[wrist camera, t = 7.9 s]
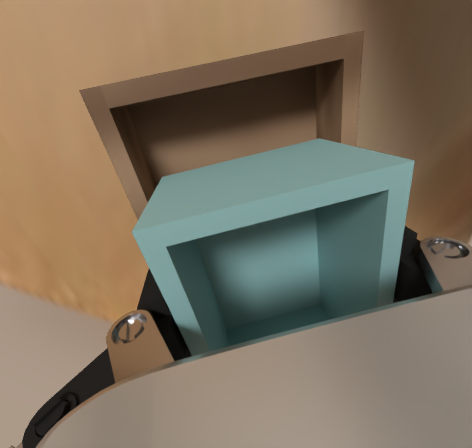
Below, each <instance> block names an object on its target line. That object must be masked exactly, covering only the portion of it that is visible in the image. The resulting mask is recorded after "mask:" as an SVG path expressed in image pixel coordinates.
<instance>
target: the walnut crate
mask: <svg viewBox="0 0 472 448" xmlns="http://www.w3.org/2000/svg"><path fill="white" fill-rule="evenodd" d="M363 35H364V31H360V32H355V33H351V34H346V35H341V36H336V37H331V38H327V39H322V40H317V41H312V42H308V43H303V44H298V45H293V46H288V47H284V48H279V49H274V50H269V51H265V52H260V53H255V54H250V55H245V56H241V57H236V58H231V59H226V60H222V61H217V62H212V63H207V64H202V65H198V66H193V67H188V68H183V69H179V70H174V71H169V72H164V73H159V74H155V75H150V76H145V77H140V78H136V79H131V80H126V81H121V82H116V83H112V84H107V85H102V86H97V87H93V88H88V89H83V90H79V91H80V93H81V96H82V98H83V100H84V102H85V104H86V107H87V109H88V111H89V113H90V115H91V118H92V120H93V122H94V124H95V126H96V129H97V131H98V133H99V135H100V137H101V140H102V142H103V144H104V146H105V148H106V151H107V153H108V155H109V157H110V159H111V162H112V164H113V166H114V168H115V170H116V173H117V175H118V177H119V179H120V181H121V184H122V186H123V188H124V190H125V193H126V195H127V197H128V199H129V201H130V204H131V206H132V208H133V210H134V212H135V215H136V217H137V219H138V220H139V218H140V216H141V215H142V213H143V211H144V209H145V207H146V205H147V204H148V202H149V200H150V198H151V196H152V195H153V193H154V191H155V189H156V187H157V185H158V184H159V182H160V180H161V178H162V177H164V176H168V175H172V174H176V173H180V172H185V171H189V170H193V169H197V168H201V167H205V166H209V165H213V164H217V163H221V162H225V161H229V160H233V159H237V158H241V157H246V156H250V155H254V154H258V153H262V152H266V151H270V150H274V149H278V148H282V147H286V146H290V145H294V144H298V143H302V142H306V141H311V140H315V139H319V138H320V139H324V140H329V141H333V142H337V143H342V144H346V145H350V146H354V147H356V136H357V122H358V107H359V93H360V78H361V64H362V49H363Z"/></svg>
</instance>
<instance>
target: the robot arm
mask: <svg viewBox="0 0 472 448" xmlns="http://www.w3.org/2000/svg"><path fill="white" fill-rule="evenodd" d="M416 238H417V233H416V232H414V231H412V230H411V229H409V228H407V227H406V226H405V228H404V234H403V241H402V247H401V254H400V260H399V267H398V273H397V280H396V286H395V293H394V299H393V304H389V305H385V306H381V307H377V308H373V309H369V310H365V311H361V312H357V313H353V314H350V315H346V316H342V317H338V318H334V319H330V320H326V321H323V322H319V323H315V324H311V325H307V326H303V327H300V328H296V329H292V330H288V331H284V332H280V333H277V334H273V335H269V336H265V337H262V338H258V339H254V340H250V341H247V342H243V343H239V344H235V345H231V346H228V347H224V348H220V349H216V350H213V351H209V352H206V353H202V354H199V355H195V356H192V355H191V353H190V351H189V348H188V346H187V344H186V342H185V340H184V338H183V336H182V334H181V332H180V330H179V328H178V326H177V324H176V322H175V320H174V318H173V316H172V314H171V312H170V309H169V307H168V305H167V303H166V301H165V299H164V297H163V295H162V293H161V291H160V289H159V287H158V285H157V283H156V281H155V279H154V277H153V275H152V273H151V270H150V268H149V270H148V273H147V277H146V280H145V283H144V287H143V290H142V294H141V297H140V300H139V304H138V307H137V310H135V311H131V312H129V313H127V314H125V315H123V316H122V317H121V318H119V319H118V320H117V321H116V322H115V323H114V324H113V325H112V327H111V328H110V330H109V331H108V334H107V337H106V343H107V349H106V350H105V351H104V352H103V353H101V354H100V355H99V356H98V357H97V358H96V359H95V360H94V361H92V362H91V363H90V364H89V365H88V366H87V367H86V368H84V369H83V371H81V372H80V373H79V374H78V375H77V376H75V377H74V378H73V379H72V380H71V381H70V382H69V383H67V384H66V386H64V387H63V388H62V389H61V390H60V391H59V392H57V393H56V394H55V395H54V396H53V397H52V398H51V399H49V401H47V402H46V403H45V404H44V405H43V406H42V407H41V408H40V409H39V410H38V412H37V413H36V414H35V416H34V417H33V418H32V420H31V421H30V423H29V425H28V427H27V429H26V430H25V433H24V437H23V440H22V442H21V443H20V445H18V446H17V447H16V448H472V247H471V246H470V245H468V244H466V243H465V242H463V241H460V240H457V239H453V238H449V237H441V236H435V237H428V238H425V239H423V240H422V241H419V240H417V239H416ZM10 448H15V447H14V446H11V447H10Z"/></svg>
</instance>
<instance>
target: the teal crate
mask: <svg viewBox="0 0 472 448" xmlns="http://www.w3.org/2000/svg"><path fill="white" fill-rule="evenodd" d="M414 162H415V160H410V159H406V158H402V157H398V156H393V155H389V154H385V153H380V152H376V151H372V150H367V149H363V148H359V147H354V146H350V145H346V144H342V143H337V142H333V141H329V140H324V139H320V138H319V139H315V140H311V141H306V142H302V143H298V144H294V145H290V146H286V147H282V148H278V149H274V150H270V151H266V152H262V153H258V154H254V155H250V156H246V157H241V158H237V159H233V160H229V161H225V162H221V163H217V164H213V165H209V166H205V167H201V168H197V169H193V170H189V171H185V172H180V173H176V174H172V175H168V176H164V177H162V178H161V180H160V182H159V184H158V185H157V187H156V189H155V191H154V193H153V195H152V196H151V198H150V200H149V202H148V204H147V205H146V207H145V209H144V211H143V213H142V215H141V216H140V218H139V220H138V222H137V224H136V225H135V227H134V229H133V231H132V234H133V236H134V238H135V240H136V242H137V244H138V246H139V248H140V250H141V252H142V254H143V256H144V258H145V260H146V262H147V264H148V266H149V268H150V270H151V273H152V275H153V277H154V279H155V281H156V283H157V285H158V287H159V289H160V291H161V293H162V295H163V297H164V299H165V301H166V303H167V305H168V307H169V309H170V312H171V314H172V316H173V318H174V320H175V322H176V324H177V326H178V328H179V330H180V332H181V334H182V336H183V338H184V340H185V342H186V344H187V346H188V348H189V351H190V353H191V355H192V356H195V355H199V354H202V353H206V352H209V351H213V350H216V349H220V348H224V347H228V346H231V345H235V344H239V343H243V342H247V341H250V340H254V339H258V338H262V337H265V336H269V335H273V334H277V333H280V332H284V331H288V330H292V329H296V328H300V327H303V326H307V325H311V324H315V323H319V322H323V321H326V320H330V319H334V318H338V317H342V316H346V315H350V314H353V313H357V312H361V311H365V310H369V309H373V308H377V307H381V306H385V305H389V304H393V299H394V293H395V286H396V280H397V273H398V267H399V260H400V254H401V247H402V241H403V234H404V228H405V221H406V214H407V208H408V201H409V195H410V188H411V182H412V175H413V169H414Z"/></svg>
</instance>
